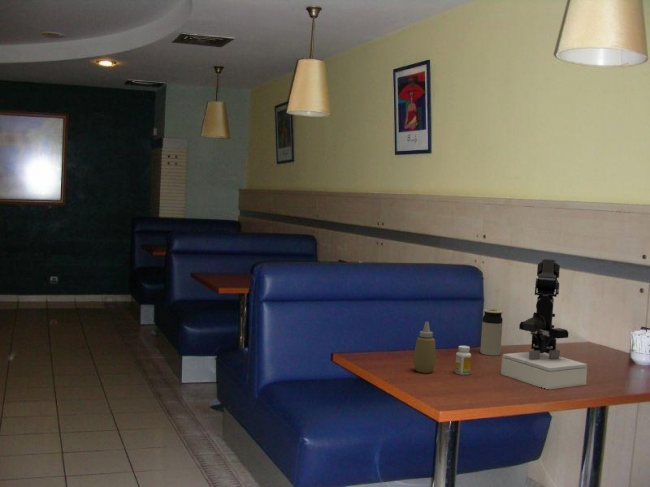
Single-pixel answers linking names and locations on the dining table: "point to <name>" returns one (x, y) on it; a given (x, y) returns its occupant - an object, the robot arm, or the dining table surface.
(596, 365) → the dining table surface
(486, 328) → the travel mug
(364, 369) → the dining table surface
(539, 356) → the flap
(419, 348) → the squeeze bottle
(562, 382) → the carton
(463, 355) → the supplement bottle
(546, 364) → the flap
